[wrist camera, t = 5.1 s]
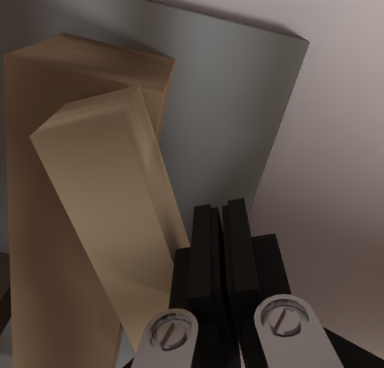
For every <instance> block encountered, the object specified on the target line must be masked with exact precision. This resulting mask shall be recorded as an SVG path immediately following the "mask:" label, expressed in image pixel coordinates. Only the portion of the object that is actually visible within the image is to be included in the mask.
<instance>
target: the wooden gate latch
mask: <svg viewBox="0 0 384 368" xmlns="http://www.w3.org/2000/svg"><path fill="white" fill-rule="evenodd" d="M309 43H310V42H309V41H307V40H306V39H303V38H299V37H295V36H291V35H287V34H283V33H279V32H275V31H271V30H267V29H263V28H259V27H255V26H251V25H247V24H243V23H239V22H235V21H231V20H227V19H223V18H219V17H215V16H211V15H207V14H203V13H199V12H195V11H191V10H187V9H183V8H179V7H175V6H171V5H167V4H163V3H159V2H155V1H151V0H0V368H122V367H124V366H125V365H126V364H127V363H128V362H129V361H130V360H131V359H133V358H134V357H135V354H136V352H135V350H134V348H133V346H132V344H131V342H130V340H129V338H128V336H127V334H126V332H125V330H124V328H123V326H122V324H121V322H120V320H119V318H118V316H117V314H116V312H115V310H114V308H113V306H112V303H111V301H110V299H109V297H108V295H107V293H106V291H105V289H104V287H103V285H102V283H101V281H100V279H99V277H98V275H97V273H96V271H95V269H94V267H93V265H92V263H91V261H90V259H89V257H88V255H87V253H86V251H85V249H84V247H83V245H82V243H81V241H80V239H79V237H78V235H77V232H76V230H75V228H74V226H73V224H72V222H71V220H70V218H69V216H68V214H67V212H66V210H65V208H64V206H63V204H62V202H61V200H60V198H59V196H58V194H57V192H56V190H55V188H54V186H53V184H52V182H51V180H50V178H49V176H48V174H47V172H46V170H45V168H44V166H43V163H42V161H41V159H40V157H39V155H38V153H37V151H36V149H35V147H34V145H33V143H32V141H31V139H30V137H29V136H30V135H31V134H33V133H34V132H35V131H36V130H37V129H38V128H39V127H40V126H41V125H43V124H44V123H45V122H46V121H47V120H48V119H49V118H50V117H52V116H53V115H54V114H55V113H56V112H57V111H58V110H59V109H61V108H62V107H63V106H64V105H65V104H66V103H68V102H72V101H77V100H81V99H85V98H89V97H93V96H97V95H101V94H105V93H109V92H113V91H117V90H121V89H125V88H129V87H133V86H137V85H140V88H141V92H142V95H143V98H144V101H145V104H146V107H147V111H148V114H149V117H150V120H151V123H152V126H153V130H154V133H155V136H156V139H157V142H158V146H159V149H160V152H161V155H162V158H163V161H164V165H165V168H166V171H167V174H168V177H169V180H170V184H171V187H172V190H173V193H174V196H175V199H176V203H177V206H178V209H179V212H180V215H181V218H182V222H183V225H184V228H185V231H186V234H187V237H188V241H189V244H190V247H191V242H192V227H193V212H194V206H200V205H206V204H211V206H212V208H214V207H218V210H219V214H220V218H221V223H222V227H223V217H222V206H225V205H228V201H229V200H234V199H240V198H244V200H245V205H246V211H247V215H248V212H249V209H250V206H251V204H252V201H253V198H254V195H255V193H256V190H257V187H258V184H259V182H260V179H261V176H262V173H263V170H264V168H265V165H266V162H267V159H268V157H269V154H270V151H271V148H272V145H273V143H274V140H275V137H276V134H277V132H278V129H279V126H280V123H281V120H282V118H283V115H284V112H285V109H286V107H287V104H288V101H289V98H290V95H291V93H292V90H293V87H294V84H295V82H296V79H297V76H298V73H299V71H300V68H301V65H302V62H303V59H304V57H305V54H306V51H307V48H308V46H309Z"/></svg>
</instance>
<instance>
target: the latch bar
mask: <svg viewBox="0 0 384 368" xmlns="http://www.w3.org/2000/svg"><path fill="white" fill-rule="evenodd" d="M29 137H30V139H31V141H32V143H33V145H34V147H35V149H36V151H37V153H38V155H39V157H40V159H41V161H42V163H43V166H44V168H45V170H46V172H47V174H48V176H49V178H50V180H51V182H52V184H53V186H54V188H55V190H56V192H57V194H58V196H59V198H60V200H61V202H62V204H63V206H64V208H65V210H66V212H67V214H68V216H69V218H70V220H71V222H72V224H73V226H74V228H75V230H76V232H77V235H78V237H79V239H80V241H81V243H82V245H83V247H84V249H85V251H86V253H87V255H88V257H89V259H90V261H91V263H92V265H93V267H94V269H95V271H96V273H97V275H98V277H99V279H100V281H101V283H102V285H103V287H104V289H105V291H106V293H107V295H108V297H109V299H110V301H111V303H112V306H113V308H114V310H115V312H116V314H117V316H118V318H119V320H120V322H121V324H122V326H123V328H124V330H125V332H126V334H127V336H128V338H129V340H130V342H131V344H132V346H133V348H134V350H135V352H137V349H138V346H139V343H140V340H141V337H142V334H143V332H144V329H145V328H146V326H147V324H148V323H149V322H150V320H151V319H152V318H153V317H155V316H156V315H158V314H159V313H160V312H163V311H166V310H168V308H169V300H170V292H171V284H172V276H173V268H174V260H175V253H176V250H177V249H179V248H186V247H190V244H189V241H188V237H187V234H186V231H185V228H184V225H183V222H182V218H181V215H180V212H179V209H178V206H177V203H176V199H175V196H174V193H173V190H172V187H171V184H170V180H169V177H168V174H167V171H166V168H165V165H164V161H163V158H162V155H161V152H160V149H159V146H158V142H157V139H156V136H155V133H154V130H153V126H152V123H151V120H150V117H149V114H148V111H147V107H146V104H145V101H144V98H143V95H142V92H141V88H140V85H137V86H133V87H129V88H125V89H121V90H117V91H113V92H109V93H105V94H101V95H97V96H93V97H89V98H85V99H81V100H77V101H72V102H68V103H66V104H65V105H64V106H63V107H62V108H61V109H59V110H58V111H57V112H56V113H55V114H54V115H53V116H52V117H50V118H49V119H48V120H47V121H46V122H45V123H44V124H43V125H41V126H40V127H39V128H38V129H37V130H36V131H35V132H34V133H33V134H31V135H30V136H29Z"/></svg>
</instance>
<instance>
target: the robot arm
mask: <svg viewBox="0 0 384 368" xmlns="http://www.w3.org/2000/svg"><path fill="white" fill-rule="evenodd" d="M222 217H223V227H222V223H221V218H220V214H219V210H218V207H214V208H212V206H211V204H206V205H200V206H194V212H193V227H192V242H191V247H186V248H179V249H177V250H176V253H175V260H174V268H173V276H172V284H171V292H170V300H169V308H168V310H166V311H163V312H160V313H159V314H158V315H156V316H155V317H153V318H152V319H151V320H150V322H149V323H148V324H147V326H146V328H145V329H144V332H143V334H142V337H141V340H140V343H139V346H138V349H137V352H136V354H135V357H134V358H133V359H131V360H130V361H129V362H128V363H127V364H126V365H125V366H124V367H122V368H241V361H240V349H239V343H240V347H241V351H242V355H243V359H244V363H245V367H246V368H384V360H383V359H381V358H379V357H377V356H375V355H373V354H372V353H370V352H368V351H366V350H364V349H362V348H361V347H359V346H357V345H355V344H353V343H351V342H350V341H348V340H346V339H344V338H342V337H340V336H339V335H337V334H335V333H333V332H331V331H329V330H328V329H326V328H324V327H322V325H321V323H320V321H319V319H318V318H317V316H316V314H315V312H314V310H313V309H312V307H311V306H310V305H309V303H307V302H306V301H305V300H303V299H302V298H299V297H297V296H294V295H291V291H290V287H289V284H288V280H287V276H286V272H285V268H284V265H283V261H282V257H281V253H280V249H279V246H278V242H277V238H276V235H275V234H269V235H262V236H256V237H251V232H250V227H249V221H248V216H247V211H246V205H245V200H244V198H240V199H234V200H229V201H228V205H225V206H222Z"/></svg>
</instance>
